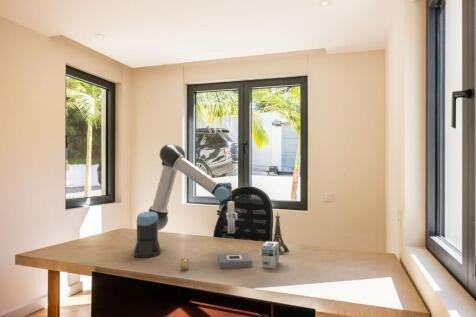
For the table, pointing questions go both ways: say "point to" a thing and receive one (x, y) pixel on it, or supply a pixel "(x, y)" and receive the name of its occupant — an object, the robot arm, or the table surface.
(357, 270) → the table surface
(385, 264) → the table surface
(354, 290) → the table surface
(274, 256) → the light bulb box
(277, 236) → the eiffel tower
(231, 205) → the steel pin
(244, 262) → the flat grey box
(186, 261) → the brass pin
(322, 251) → the table surface
